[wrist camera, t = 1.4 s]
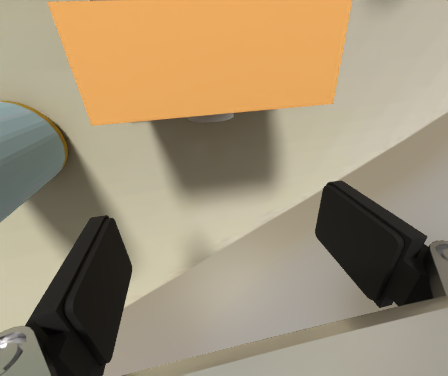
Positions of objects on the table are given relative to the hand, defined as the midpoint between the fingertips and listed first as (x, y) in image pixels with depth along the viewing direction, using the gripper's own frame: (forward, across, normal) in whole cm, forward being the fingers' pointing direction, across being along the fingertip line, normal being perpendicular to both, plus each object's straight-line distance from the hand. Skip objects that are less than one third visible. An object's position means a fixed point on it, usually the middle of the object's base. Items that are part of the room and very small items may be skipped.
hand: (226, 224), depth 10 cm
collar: (+11, -1, -7) cm, 13 cm away
